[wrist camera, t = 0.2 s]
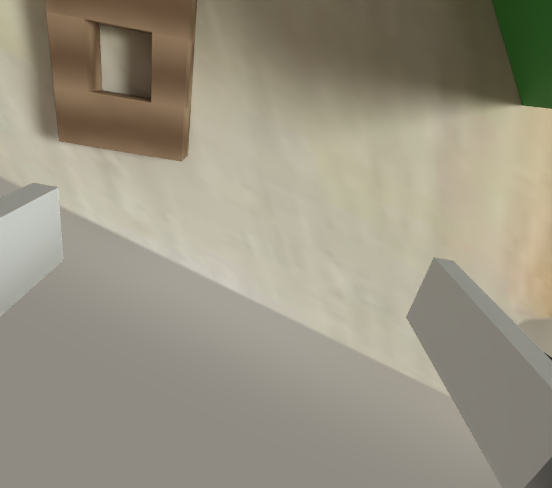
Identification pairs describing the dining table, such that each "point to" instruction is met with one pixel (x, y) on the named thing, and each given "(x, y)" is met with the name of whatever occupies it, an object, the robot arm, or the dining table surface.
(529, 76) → the hardback book
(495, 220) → the dining table surface
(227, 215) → the dining table surface
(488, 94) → the dining table surface
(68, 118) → the jig
